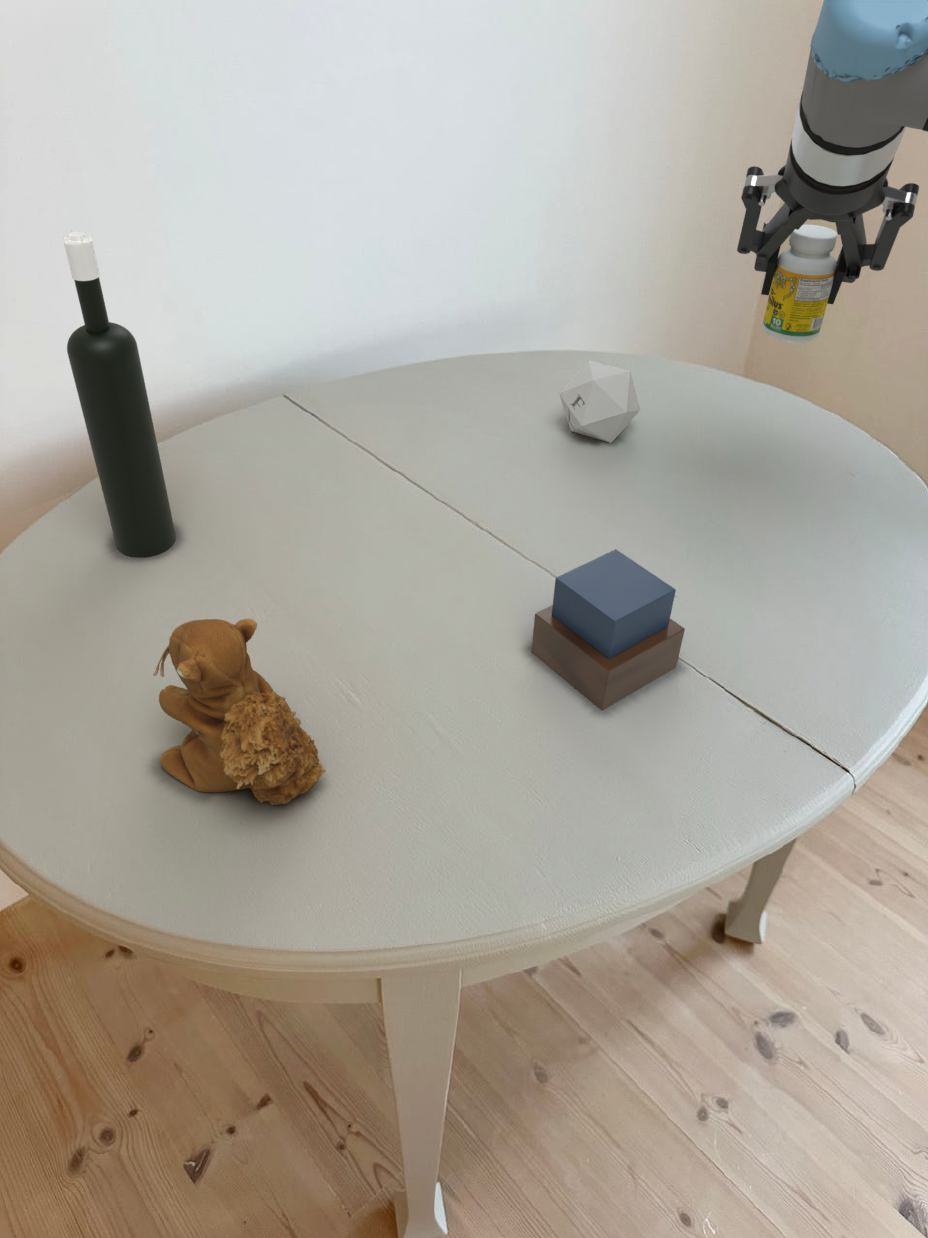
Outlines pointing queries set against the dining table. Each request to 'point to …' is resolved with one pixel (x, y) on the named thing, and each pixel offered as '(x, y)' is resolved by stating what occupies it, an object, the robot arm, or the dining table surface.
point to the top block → (612, 603)
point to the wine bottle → (117, 415)
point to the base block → (604, 659)
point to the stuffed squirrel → (232, 718)
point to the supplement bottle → (801, 285)
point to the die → (600, 401)
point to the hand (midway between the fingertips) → (799, 285)
